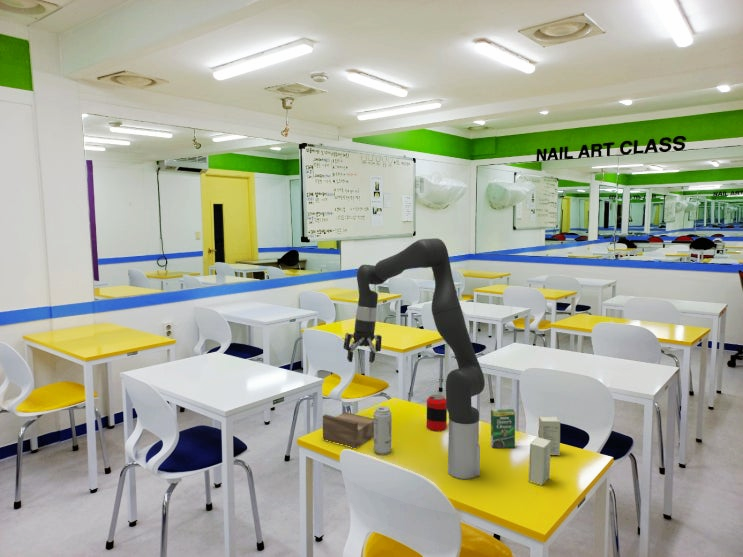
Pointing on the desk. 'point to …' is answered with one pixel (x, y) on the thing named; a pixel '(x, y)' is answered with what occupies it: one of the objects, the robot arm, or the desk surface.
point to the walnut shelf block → (348, 429)
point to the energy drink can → (382, 430)
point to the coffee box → (503, 428)
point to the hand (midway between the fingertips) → (360, 361)
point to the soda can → (436, 413)
